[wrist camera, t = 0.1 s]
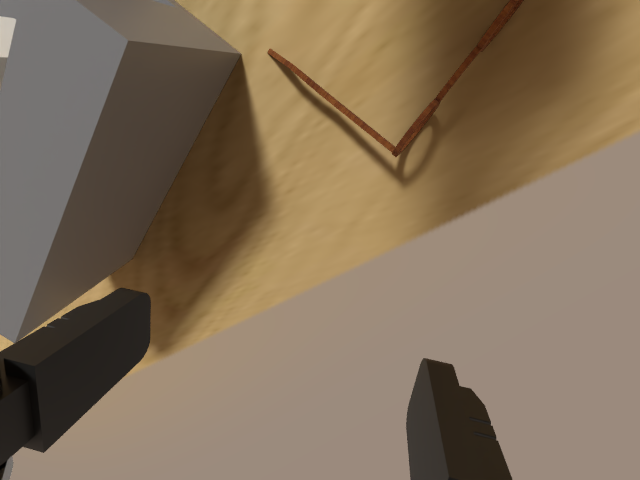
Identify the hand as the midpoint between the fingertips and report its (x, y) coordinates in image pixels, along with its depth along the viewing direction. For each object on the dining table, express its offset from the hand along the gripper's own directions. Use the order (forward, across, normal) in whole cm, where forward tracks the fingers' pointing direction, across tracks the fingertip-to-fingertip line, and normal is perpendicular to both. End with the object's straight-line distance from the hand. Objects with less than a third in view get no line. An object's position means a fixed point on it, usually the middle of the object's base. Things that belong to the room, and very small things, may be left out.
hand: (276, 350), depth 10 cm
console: (+22, +25, -4) cm, 33 cm away
